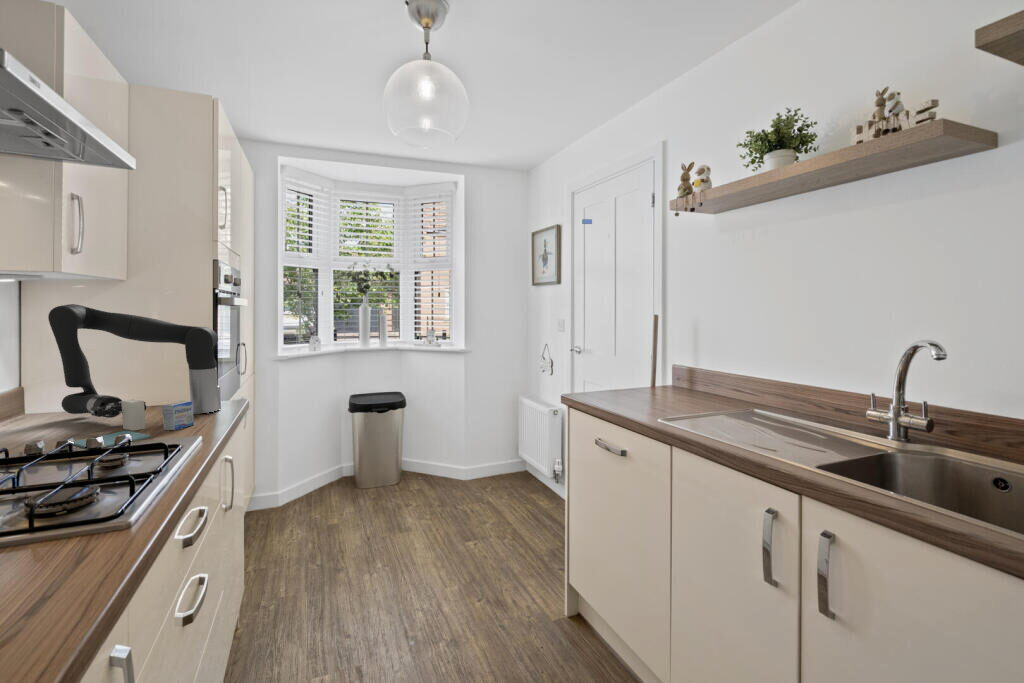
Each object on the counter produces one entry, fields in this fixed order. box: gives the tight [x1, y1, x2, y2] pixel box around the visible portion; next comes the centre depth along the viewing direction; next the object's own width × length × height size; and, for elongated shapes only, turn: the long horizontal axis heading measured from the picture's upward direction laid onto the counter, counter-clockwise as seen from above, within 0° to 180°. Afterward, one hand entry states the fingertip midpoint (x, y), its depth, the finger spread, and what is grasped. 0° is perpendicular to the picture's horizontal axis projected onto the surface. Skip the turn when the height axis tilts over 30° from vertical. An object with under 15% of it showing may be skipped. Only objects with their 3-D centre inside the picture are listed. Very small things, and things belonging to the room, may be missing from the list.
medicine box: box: [161, 400, 194, 432], centre depth 165 cm, size 8×4×9 cm, turn 168°
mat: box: [72, 429, 152, 449], centre depth 150 cm, size 15×14×1 cm
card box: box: [121, 398, 147, 432], centre depth 165 cm, size 4×6×10 cm, turn 64°
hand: (130, 410), depth 165 cm, fingers open, 8 cm apart
